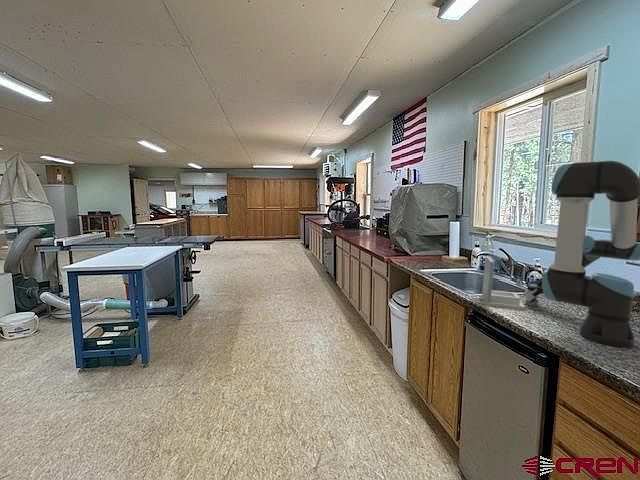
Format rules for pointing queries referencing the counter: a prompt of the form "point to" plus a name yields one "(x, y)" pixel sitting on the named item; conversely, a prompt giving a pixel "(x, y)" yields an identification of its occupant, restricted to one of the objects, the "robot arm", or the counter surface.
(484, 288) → the holder
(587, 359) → the counter surface
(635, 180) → the robot arm
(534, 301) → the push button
